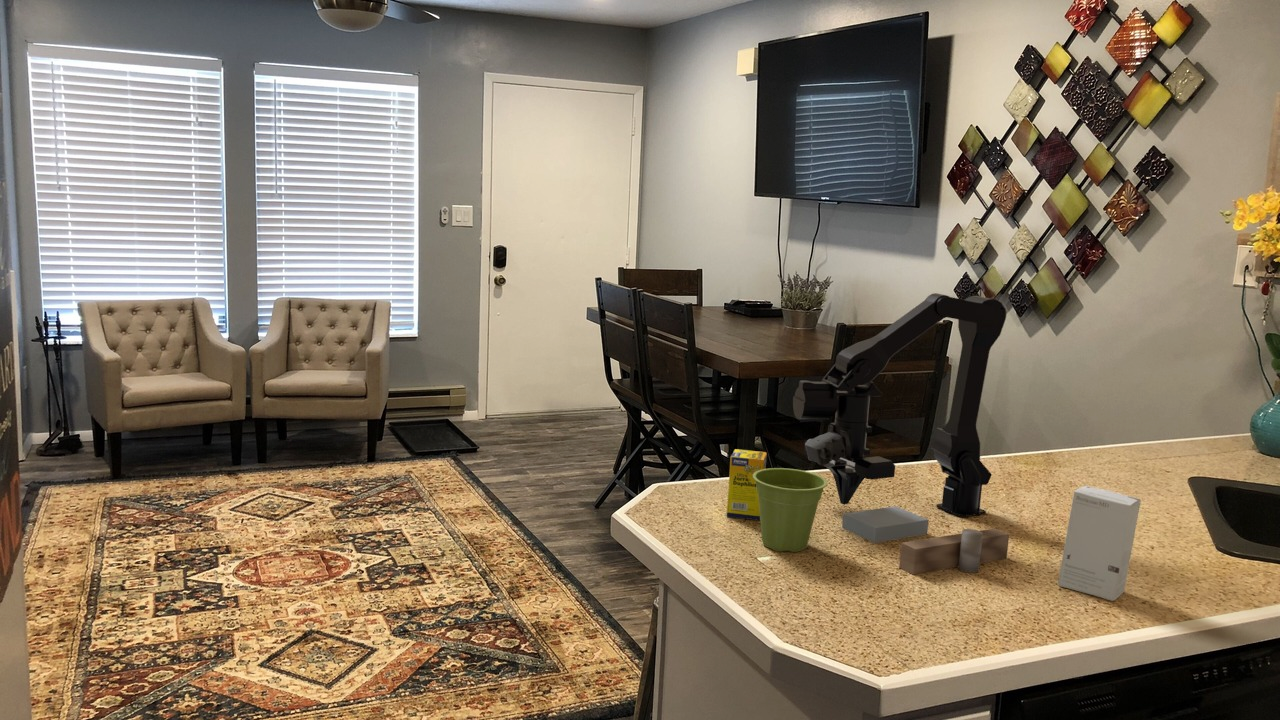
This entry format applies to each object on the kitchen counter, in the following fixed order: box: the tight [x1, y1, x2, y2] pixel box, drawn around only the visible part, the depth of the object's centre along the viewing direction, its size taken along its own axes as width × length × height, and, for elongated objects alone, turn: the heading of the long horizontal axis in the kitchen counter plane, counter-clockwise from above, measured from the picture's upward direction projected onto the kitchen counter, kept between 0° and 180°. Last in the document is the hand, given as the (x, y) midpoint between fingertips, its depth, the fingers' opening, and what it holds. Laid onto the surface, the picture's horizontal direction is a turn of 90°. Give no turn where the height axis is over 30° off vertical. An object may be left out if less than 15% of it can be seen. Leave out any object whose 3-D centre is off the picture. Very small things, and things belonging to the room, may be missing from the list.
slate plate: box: [841, 505, 930, 544], centre depth 170 cm, size 12×8×3 cm, turn 120°
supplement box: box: [726, 448, 768, 521], centre depth 174 cm, size 6×6×11 cm
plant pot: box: [753, 467, 828, 553], centre depth 159 cm, size 12×12×11 cm
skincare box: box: [1058, 485, 1142, 602], centre depth 146 cm, size 8×6×15 cm
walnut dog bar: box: [898, 528, 1010, 575], centre depth 154 cm, size 20×6×6 cm, turn 118°
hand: (844, 503), depth 179 cm, fingers closed
